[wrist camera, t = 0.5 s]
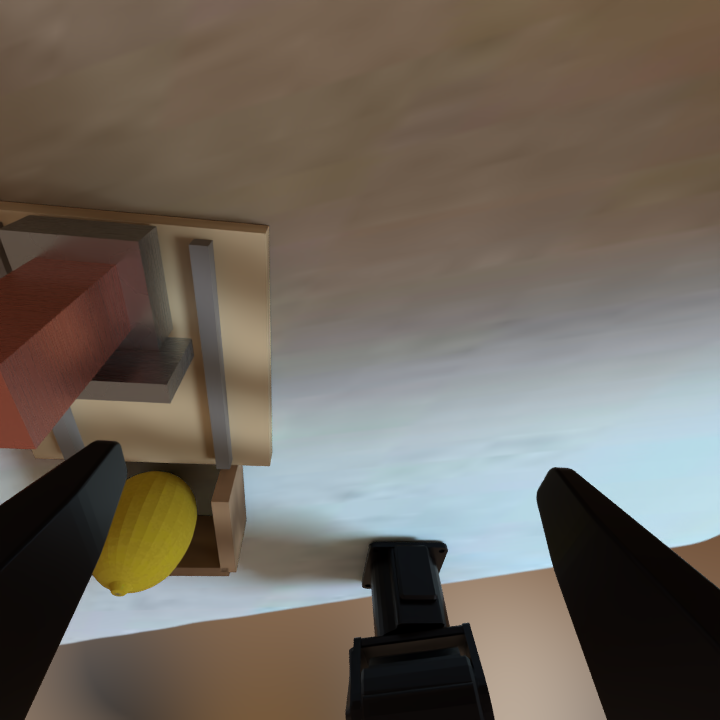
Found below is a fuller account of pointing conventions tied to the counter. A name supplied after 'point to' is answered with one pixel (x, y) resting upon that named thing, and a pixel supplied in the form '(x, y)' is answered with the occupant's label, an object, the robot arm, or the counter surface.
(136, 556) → the lemon
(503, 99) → the counter surface
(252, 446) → the wooden board with rails
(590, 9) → the counter surface
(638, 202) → the counter surface
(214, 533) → the open wooden crate
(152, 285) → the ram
